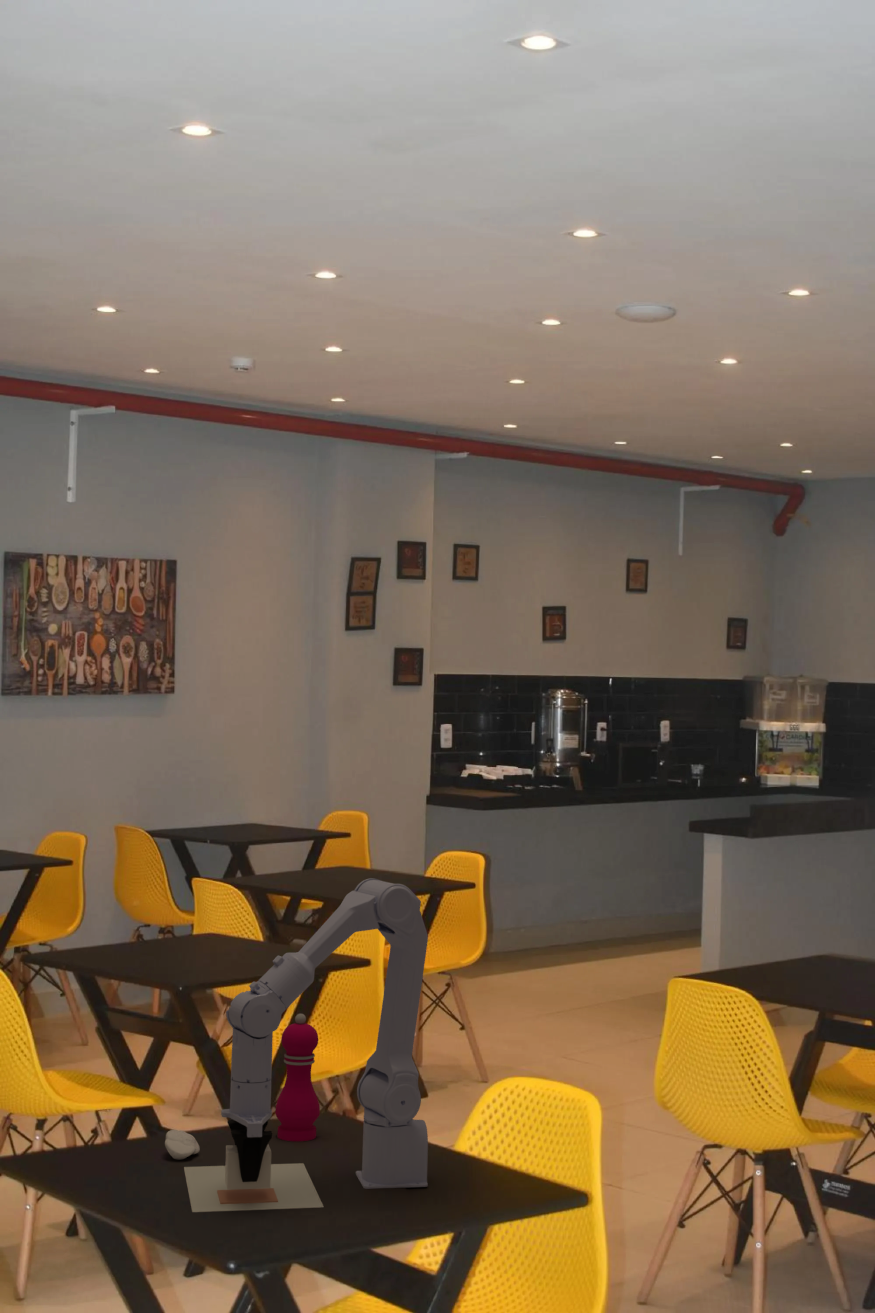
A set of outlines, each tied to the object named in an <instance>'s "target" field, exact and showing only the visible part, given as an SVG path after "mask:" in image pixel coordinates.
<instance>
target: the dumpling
mask: <svg viewBox="0 0 875 1313" xmlns="http://www.w3.org/2000/svg"><path fill="white" fill-rule="evenodd" d="M164 1146H165V1149H166V1150H167V1152H168V1154H169V1155H170V1156H171V1157H172V1159H174V1160H179V1161H180V1160H181V1161H182V1160H184V1159H187V1157H190V1156H191V1155H195V1154H198V1153H199V1152H200V1151H201V1150H200V1148H201V1147H200V1145H199V1143H198V1141H197V1140H196V1138H195V1137H194V1136H193V1135H192V1134H190V1133H188V1132H186V1131H184V1130H178V1129H171V1130H169V1131H167V1132H166V1133H165V1141H164Z"/></svg>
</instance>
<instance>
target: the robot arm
mask: <svg viewBox="0 0 875 1313" xmlns="http://www.w3.org/2000/svg"><path fill="white" fill-rule="evenodd" d="M421 904H422V902H421V900H420V899H419V898H418V896H417V895H416V894H415V893H414V892H413V891H412V890H411V889H410V888H409V887H408V886H406V885H405V884H402V883H393V882H388V881H384V880H380V879H378V878H374V877H373V878H372V877H370V878H367V879H364V880H362V881H361V882H359V883H358V884H357V885H356V887H355V888H354V890H351V891H350V892H349V893H347V894H346V895H345V897H344V898H343V900H342V902H341V904H340V905H339V906H338V907H337V909H335V911H334V912H333V913H332V914H330V916H329V917H328V918H327V920H326V921H325V922H324V923H323V924H322V925H321V926H320V927H319V928H318V929H317V931H315V933H314V934H313V935H312V936H311V937H310V938H309V940H308V941H307V942H306V943H305V944H304V945H303V946H302V948H300V950H298V952H286V953H284V954H283V955H282V956H280V955H277V956H276V957H275V958H274V959H273V960H272V963H273V965H272V966H271V967H270V968H269V969H268V970H267V971H266V972H265V973H264V974H263V975H262V976H261V977H260V978H259V979H258V980H257V981H252V982H251V984H249V989H250V990H246V991H242V992H239V993H238V994H237V995H235V996H234V998H233V999H232V1000H231V1002H230V1007H229V1008H228V1010H226V1011H225V1015H226V1020H227V1022H228V1023H229V1025H230V1026H231V1027H232V1042H231V1044H232V1045H231V1063H230V1064H231V1065H230V1090H229V1092H230V1095H229V1096H230V1097H229V1108H223V1109H221V1110H220V1111H221V1114H220V1115H221V1117H222V1118H230V1119H228V1120H227V1124H228V1126H229V1129H230V1134H231V1137H232V1139H233V1142H234V1145H236V1147H237V1151H238V1157H239V1166H240V1174H241V1178H242V1182H257V1180H258V1177H259V1173H260V1168H261V1163H262V1159H263V1155H264V1152H265V1149H266V1147H267V1145H268V1144H269V1143H270V1141H271V1140H272V1137H273V1133H272V1130H266V1127H267V1126H268V1124H269V1122H268V1120H269V1119H270V1118H271V1117H272V1116H273V1110H272V1108H271V1106H272V1105H271V1103H272V1099H271V1098H272V1073H273V1072H272V1071H273V1070H272V1068H273V1067H272V1066H273V1033H274V1032H275V1031H277V1030H278V1028H279V1026H280V1023H281V1021H282V1020H281V1019H282V1014H283V1013H284V1012H285V1011H286V1010H287V1009H288V1008H289V1007H290V1006H291V1005H292V1004H293V1003H294V1002H295V1001H296V1000H297V999H298V998H299V997H300V996H301V995H302V993H304V992H305V991H306V990H307V989H308V988H309V987H310V986H311V985H312V984H313V982H314V981H315V971H316V968H317V967H319V966H320V964H322V963H323V962H324V961H325V960H326V959H327V958H328V957H329V956H330V955H332V954H333V953H334V952H335V951H336V950H337V949H338V948H340V946H341V945H342V944H343V943H344V942H346V941H347V940H348V939H349V938H350V937H352V936H353V934H355V933H357V932H365V931H370V930H372V931H373V930H377V931H378V932H379V933H380V934H381V935H382V936H383V937H384V939H385V940H386V941H387V942H388V944H389V946H390V947H389V948H390V949H389V954H388V962H387V969H386V977H385V984H384V990H383V998H382V1002H381V1003H382V1004H381V1011H380V1019H379V1024H378V1033H377V1040H376V1047H375V1051H374V1052H373V1053H372V1054H371V1055H370V1057H368V1059H367V1060H366V1066H365V1070H364V1073H363V1074H362V1076H361V1078H360V1079H359V1081H358V1084H357V1088H356V1089H357V1090H356V1095H357V1100H358V1102H359V1104H360V1105H361V1106H362V1107H363V1108H364V1109H363V1126H362V1128H363V1130H362V1131H363V1132H362V1134H363V1135H362V1161H361V1162H362V1164H361V1170H356V1171H355V1176H356V1177H357V1178H358V1181H359V1182H360V1184H361V1187H363V1189H366V1190H368V1189H395V1188H396V1189H397V1188H405V1189H407V1188H426V1187H428V1186H429V1185H428V1184H429V1182H428V1155H429V1152H428V1150H429V1140H428V1139H429V1138H428V1136H429V1135H428V1128H427V1123H426V1122H425V1120H423V1119H414V1118H415V1116H417V1115H418V1112H419V1110H420V1107H421V1105H422V1098H421V1097H422V1096H421V1092H420V1089H419V1076H420V1073H419V1071H418V1068H417V1066H416V1063H415V1061H414V1059H413V1049H414V1040H415V1034H416V1029H417V1028H416V1027H417V1020H418V1013H419V1007H420V998H421V992H422V985H423V976H424V970H425V963H426V955H427V948H428V940H429V939H428V938H429V937H428V936H429V935H428V932H427V931H428V930H427V928H426V926H425V922H424V920H423V916H422V913H421V912H422V911H421Z"/></svg>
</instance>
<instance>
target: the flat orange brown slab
mask: <svg viewBox="0 0 875 1313" xmlns="http://www.w3.org/2000/svg"><path fill="white" fill-rule="evenodd" d="M217 1193H218V1197H219V1201H220V1204H240V1203H267V1202H278V1199H277V1196H276V1194H275V1191H274V1188H263V1189H235V1190H217Z"/></svg>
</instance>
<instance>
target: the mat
mask: <svg viewBox="0 0 875 1313" xmlns="http://www.w3.org/2000/svg"><path fill="white" fill-rule="evenodd" d="M183 1170H184V1176H185V1181H186V1186H187V1191H188V1197H189V1202H190V1206H191V1207H190V1208H191V1212H192V1213H210V1212H232V1211H233V1212H237V1211H262V1210H289V1209H290V1210H291V1209H292V1210H293V1209H312V1208H313V1209H315V1208H316V1209H317V1208H324V1204H323V1202H322V1201H321V1200H322V1199H321V1198H320V1196H319V1194H318V1192H317V1190H316V1187H315V1185H314V1183H313V1181H312V1179H311V1177H310V1174H309V1173H308V1170H307V1168H306V1166H305V1164H304V1162H302V1163H300V1162H299V1163H271V1181H270V1188H274V1191H275V1194H276V1196H277V1199H278V1202H267V1203H240V1204H220V1201H219V1197H218V1193H217V1190H235V1189H227V1187H226V1183H225V1165H210V1166H209V1165H208V1166H207V1165H205V1166H184V1167H183ZM254 1189H263V1188H254Z"/></svg>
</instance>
